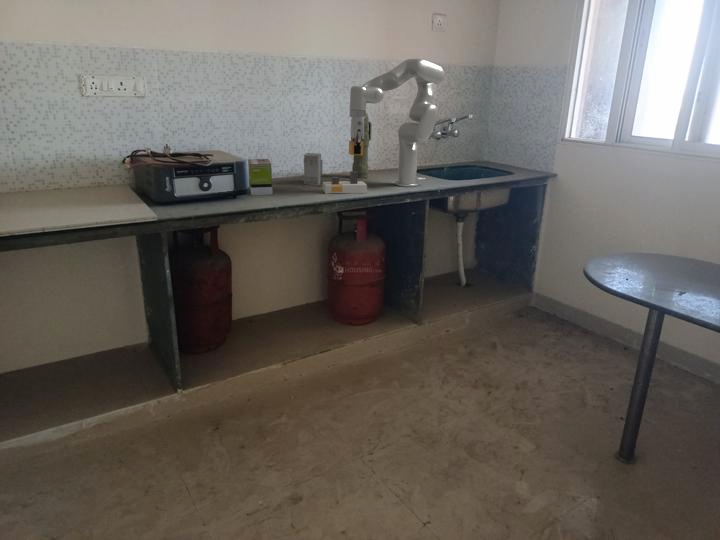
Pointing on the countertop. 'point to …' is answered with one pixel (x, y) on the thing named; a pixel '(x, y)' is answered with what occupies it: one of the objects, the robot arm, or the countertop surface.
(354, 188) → the breaker panel
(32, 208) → the countertop surface
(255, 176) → the tea box
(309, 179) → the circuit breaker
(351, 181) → the plain toggle
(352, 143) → the orange cube
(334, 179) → the tagged toggle
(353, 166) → the thermos
